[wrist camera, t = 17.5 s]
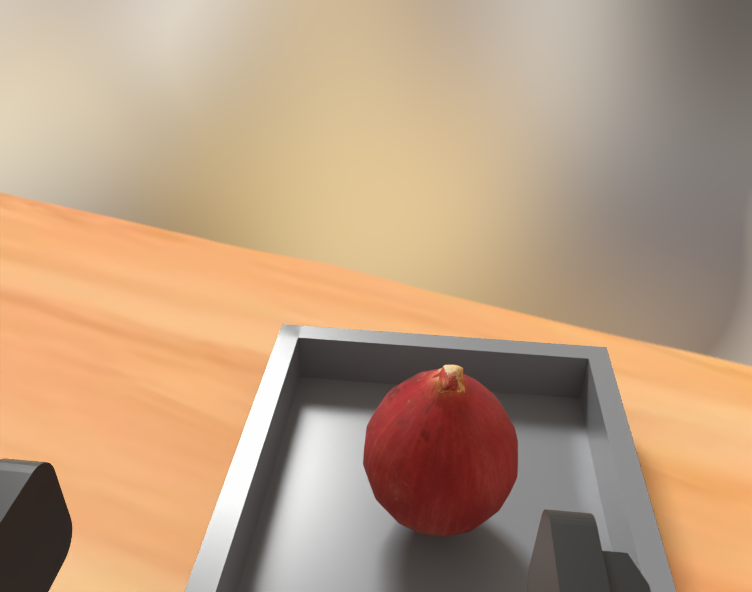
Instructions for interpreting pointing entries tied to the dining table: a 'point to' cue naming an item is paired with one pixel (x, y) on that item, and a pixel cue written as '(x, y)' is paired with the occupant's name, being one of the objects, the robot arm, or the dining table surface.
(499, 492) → the onion
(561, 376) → the tray
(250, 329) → the dining table surface
